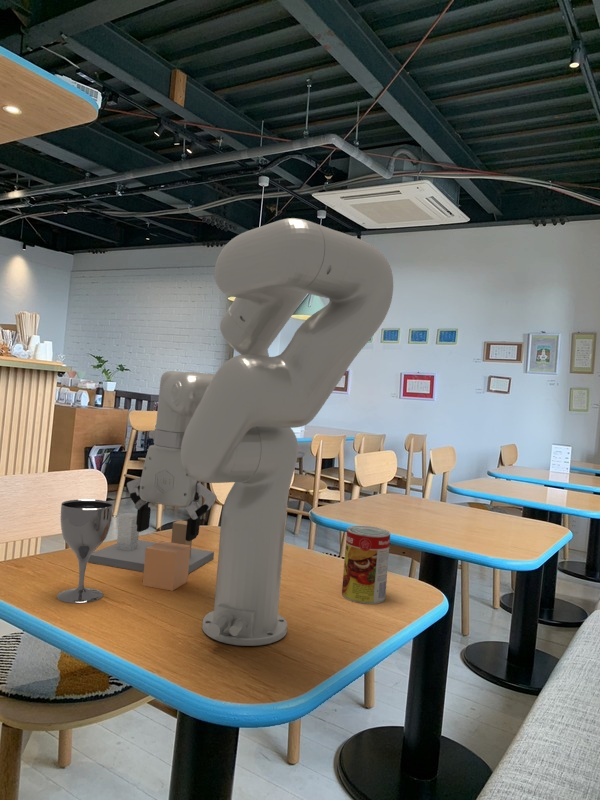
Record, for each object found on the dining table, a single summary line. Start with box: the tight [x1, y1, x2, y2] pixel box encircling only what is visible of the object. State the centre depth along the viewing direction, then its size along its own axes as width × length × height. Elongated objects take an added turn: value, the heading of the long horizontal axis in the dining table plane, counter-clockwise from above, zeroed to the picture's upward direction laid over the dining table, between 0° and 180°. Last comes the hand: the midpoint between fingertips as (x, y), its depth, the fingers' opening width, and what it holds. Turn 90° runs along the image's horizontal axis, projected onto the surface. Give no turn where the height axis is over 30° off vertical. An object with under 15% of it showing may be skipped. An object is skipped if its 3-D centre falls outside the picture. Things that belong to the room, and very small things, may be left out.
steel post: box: [116, 512, 140, 551], centre depth 120 cm, size 3×3×7 cm
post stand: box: [87, 519, 215, 575], centre depth 118 cm, size 15×20×8 cm
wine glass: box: [56, 498, 114, 604], centre depth 96 cm, size 8×8×15 cm
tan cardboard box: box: [142, 540, 190, 592], centre depth 105 cm, size 6×6×7 cm
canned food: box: [341, 525, 391, 605], centre depth 107 cm, size 8×8×12 cm
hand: (166, 534), depth 106 cm, fingers open, 9 cm apart
